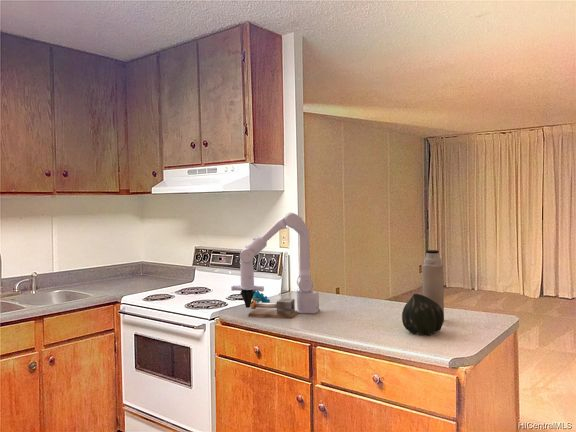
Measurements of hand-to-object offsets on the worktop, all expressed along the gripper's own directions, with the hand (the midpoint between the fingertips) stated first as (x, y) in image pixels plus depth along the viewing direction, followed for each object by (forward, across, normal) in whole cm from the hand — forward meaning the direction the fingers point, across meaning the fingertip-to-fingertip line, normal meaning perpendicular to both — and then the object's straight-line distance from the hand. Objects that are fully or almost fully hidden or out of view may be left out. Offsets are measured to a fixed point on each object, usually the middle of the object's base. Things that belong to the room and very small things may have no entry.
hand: (248, 307), depth 207 cm
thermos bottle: (+3, +78, +3) cm, 78 cm away
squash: (+3, +74, -16) cm, 75 cm away
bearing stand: (+3, +11, 0) cm, 12 cm away
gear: (+3, 0, +17) cm, 18 cm away
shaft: (+1, +9, 0) cm, 9 cm away
